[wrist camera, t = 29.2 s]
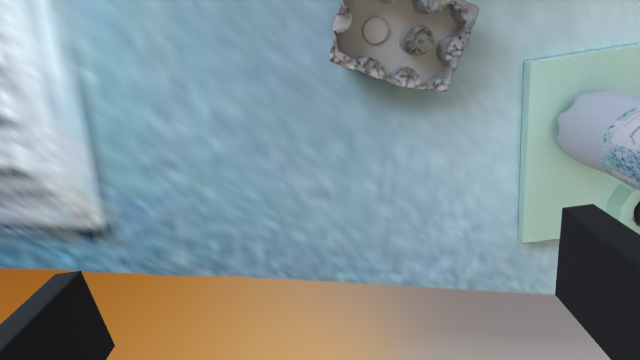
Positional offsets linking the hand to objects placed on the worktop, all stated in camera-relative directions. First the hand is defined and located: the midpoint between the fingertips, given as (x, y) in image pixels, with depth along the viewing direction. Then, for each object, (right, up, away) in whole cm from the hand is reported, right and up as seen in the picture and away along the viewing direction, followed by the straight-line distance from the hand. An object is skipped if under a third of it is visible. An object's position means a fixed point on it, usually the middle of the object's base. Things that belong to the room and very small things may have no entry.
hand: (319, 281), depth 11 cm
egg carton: (+6, +16, +23) cm, 28 cm away
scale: (+26, +6, +26) cm, 37 cm away
